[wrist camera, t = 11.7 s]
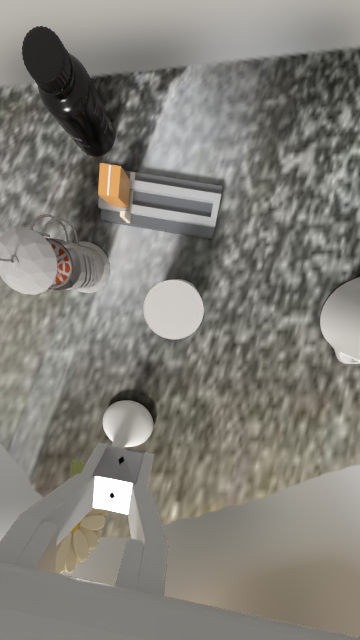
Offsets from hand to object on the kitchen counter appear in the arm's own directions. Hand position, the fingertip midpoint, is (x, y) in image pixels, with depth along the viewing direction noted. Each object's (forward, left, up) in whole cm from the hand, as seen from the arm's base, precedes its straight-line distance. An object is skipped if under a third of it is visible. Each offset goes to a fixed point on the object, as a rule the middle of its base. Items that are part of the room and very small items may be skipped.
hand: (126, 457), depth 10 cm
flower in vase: (+7, +23, -29) cm, 38 cm away
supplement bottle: (+18, -30, -29) cm, 46 cm away
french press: (+19, -9, -29) cm, 36 cm away
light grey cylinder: (0, -5, -29) cm, 30 cm away
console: (+6, -21, -29) cm, 36 cm away
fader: (+12, -21, -27) cm, 37 cm away
